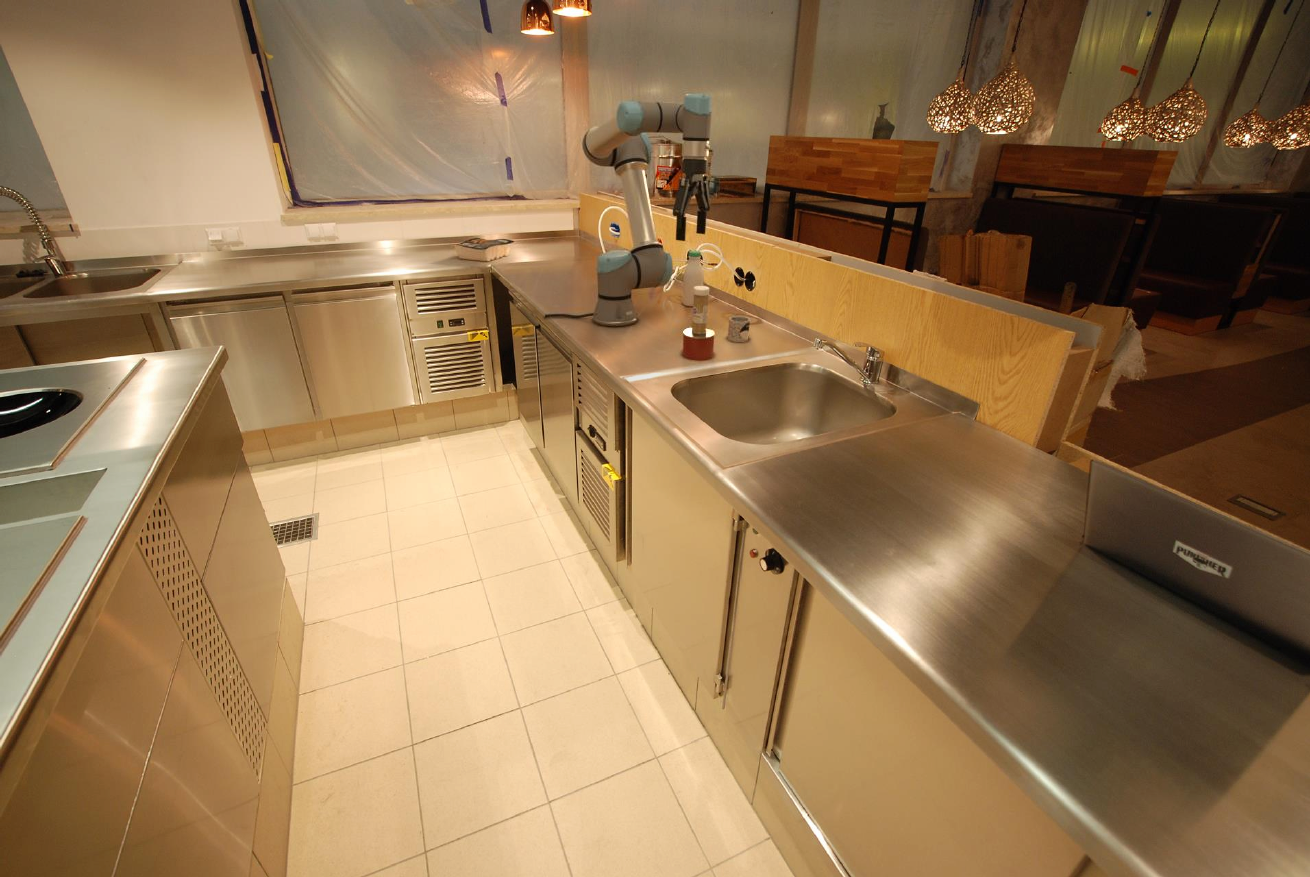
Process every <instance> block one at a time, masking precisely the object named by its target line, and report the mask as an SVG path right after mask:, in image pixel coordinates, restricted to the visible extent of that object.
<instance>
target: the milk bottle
mask: <svg viewBox="0 0 1310 877" xmlns="http://www.w3.org/2000/svg"><path fill="white" fill-rule="evenodd" d="M701 258H702V252H701V251H700V250H689V251H688V261H687V264H686V266H685V268H684V272H683V282H682V283H683V284H682V305H683V306H687V307H693V302H694V294H693V290H694V287H695V286H704V280H705V278H704V277H705V276H704V269H703V265H702V263H701Z"/></svg>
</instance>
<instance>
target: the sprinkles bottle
mask: <svg viewBox="0 0 1310 877" xmlns="http://www.w3.org/2000/svg"><path fill="white" fill-rule="evenodd" d="M693 294H694V302H693V306H692V317H691V318H692V319H691V322H692V323H691V328H692V330H691V331H692V333H694V334H705V333H706V332H707V331H706V329H707V323H708V312H709V311H708V310H709V296H710V287H709V286H706V285H703V286H695V287H694V290H693Z"/></svg>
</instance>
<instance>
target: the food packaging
mask: <svg viewBox="0 0 1310 877" xmlns="http://www.w3.org/2000/svg"><path fill="white" fill-rule="evenodd" d="M515 242H516V241H515V240H512V239H507V238H497V239H484V238H480V237H473V238H470V239H467V240H465V241H463V242H460V243H457V244H448V247H453V246H454V249H455V252H456V254H457V257H458V258H459V259H461V260H471V261H481V262H490V261H493V260H495V259H497V260H498V259H500V258H503V257H507V256H509V253H510V246H511V245H510V244H512V243H515Z"/></svg>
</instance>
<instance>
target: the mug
mask: <svg viewBox="0 0 1310 877" xmlns="http://www.w3.org/2000/svg"><path fill="white" fill-rule="evenodd" d="M750 324H751V319H750V318H749V317H746V316H743V315H735V316H730V317H729V318H728V330H727V340H728V341H729V342H734V343H745V342H748V341H749V334H750Z"/></svg>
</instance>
